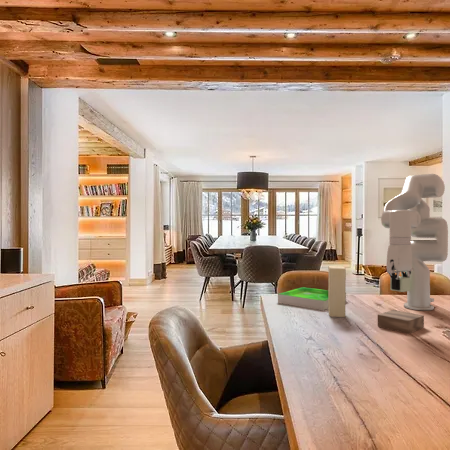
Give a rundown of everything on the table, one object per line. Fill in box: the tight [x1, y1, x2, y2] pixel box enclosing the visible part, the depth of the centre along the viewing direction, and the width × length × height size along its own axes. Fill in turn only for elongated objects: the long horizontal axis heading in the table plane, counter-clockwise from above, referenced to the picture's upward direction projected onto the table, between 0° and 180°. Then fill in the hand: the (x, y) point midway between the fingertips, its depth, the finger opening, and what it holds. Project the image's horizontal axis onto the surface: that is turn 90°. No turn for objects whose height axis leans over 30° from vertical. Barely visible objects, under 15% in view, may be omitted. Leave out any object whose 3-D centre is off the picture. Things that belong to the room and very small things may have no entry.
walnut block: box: [377, 309, 425, 335], centre depth 142 cm, size 12×12×5 cm
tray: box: [277, 286, 347, 311], centre depth 188 cm, size 25×25×5 cm
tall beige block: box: [327, 265, 347, 318], centre depth 161 cm, size 8×7×21 cm
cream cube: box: [389, 275, 410, 293], centre depth 142 cm, size 5×5×5 cm
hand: (400, 288), depth 142 cm, fingers closed on cream cube, 4 cm apart
